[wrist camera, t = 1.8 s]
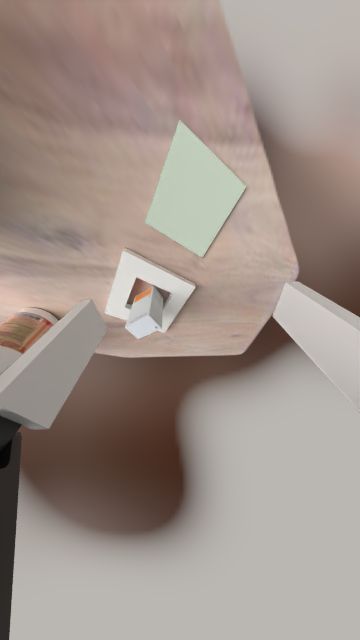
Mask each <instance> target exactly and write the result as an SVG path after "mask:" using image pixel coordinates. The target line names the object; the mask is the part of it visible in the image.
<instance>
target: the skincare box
mask: <svg viewBox="0 0 360 640" xmlns="http://www.w3.org/2000/svg"><path fill="white" fill-rule="evenodd" d="M162 314H163V297H162V295H161V294H160V293H159V291H158V290H157V289H156V287H155V286H152V287H150V288H149V289H147V290H145V291H144V292H142V293H140V294H138V295H136V296H135V299H134V302H133V305H132V308H131V311H130V314H129V317H128V320H127V323H126V326H125V328H126V329H127V330H128V331H129V332H130V333H132V334H133V335H134V336H135V337H136V338H137V339H140V338H142V337H145V336H147V335H150V334H152V333H153V332H155V331H157V330H159V329H162Z"/></svg>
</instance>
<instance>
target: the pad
mask: <svg viewBox="0 0 360 640" xmlns="http://www.w3.org/2000/svg"><path fill="white" fill-rule="evenodd" d="M246 187H247V186H246V185H245V184H244V183H243V182H242V181H241V180H240V179H239V178H238V177H237V176H236V175H235V174H234V173H233V172H232V171H231V170H230V169H229V168H228V167H227V166H226V165H225V164H224V163H223V162H222V161H221V160H220V159H219V158H218V157H217V156H216V155H215V154H214V153H213V152H212V151H211V150H210V149H209V148H208V147H207V146H206V145H205V144H204V143H203V142H202V141H201V140H200V139H199V138H198V137H197V136H196V135H195V134H194V133H193V132H192V131H191V130H190V129H189V128H188V127H187V126H186V125H185V124H184V123H183V122H182V121H181V120H179V123H178V126H177V129H176V132H175V135H174V138H173V141H172V144H171V147H170V150H169V153H168V156H167V159H166V162H165V165H164V168H163V170H162V173H161V176H160V179H159V182H158V185H157V188H156V191H155V194H154V197H153V200H152V203H151V206H150V209H149V212H148V215H147V218H146V220H145V223H146V224H148V225H150V226H151V227H153V228H154V229H156V230H158V231H159V232H161V233H163V234H164V235H166V236H167V237H169V238H171V239H172V240H174V241H176V242H177V243H179V244H180V245H182V246H184V247H185V248H187V249H189V250H190V251H192V252H193V253H195V254H197V255H198V256H200V257H203V256H204V254H205V252H206V251H207V249H208V248H209V246H210V244H211V243H212V241H213V240H214V238H215V236H216V235H217V233H218V232H219V230H220V228H221V227H222V225H223V224H224V222H225V220H226V219H227V217H228V216H229V214H230V212H231V211H232V209H233V207H234V206H235V204H236V203H237V201H238V199H239V198H240V196H241V195H242V193H243V191H244V190H245V188H246Z"/></svg>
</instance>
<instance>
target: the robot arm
mask: <svg viewBox="0 0 360 640" xmlns="http://www.w3.org/2000/svg"><path fill="white" fill-rule="evenodd" d="M273 317H274V319H276V321H277V322H278V323H279V324H280V325H281V326H282V327H283V328H284V329H285V331H286V332H287V333H288V334H289V335H290V336H291V337H292V338H293V339H294V341H295V342H296V343H297V344H298V345H299V346H300V347H301V348H302V349H303V350H304V351H305V353H306V354H307V355H308V356H309V357H310V358H311V359H312V360H313V362H314V363H315V364H316V365H317V366H318V367H319V368H320V369H321V370H322V371H323V373H324V374H325V375H326V376H327V377H328V378H329V379H330V380H331V381H332V382H333V383H334V385H335V386H336V387H337V388H338V389H339V390H340V391H341V392H342V393H343V395H344V396H345V397H346V398H347V399H348V400H349V401H350V402H351V403H352V404H353V406H354V407H355V408H356V409H357V410H358V411H359V412H360V317H358V316H356V315H354V314H353V313H351V312H349V311H347V310H346V309H344V308H343V307H341V306H339V305H337V304H336V303H334V302H332V301H330V300H329V299H327V298H325V297H324V296H322V295H320V294H318V293H317V292H315V291H313V290H312V289H309V288H308V287H306V286H305V285H303V284H301V283H300V282H286V283H285V286H284V288H283V291H282V293H281V296H280V298H279V301H278V303H277V306H276V309H275V311H274V314H273ZM107 330H108V328H107V327H106V325H105V323H104V321H103V319H102V317H101V316H100V314H99V312H98V310H97V308H96V306H95V304H94V303H93V301H92V300H81V301H80V302H79V303H78V304H77V305H76V306H75V307H74V308H72V309H71V310H70V311H69V312H68V313H67V314H66V315H65V316H64V317H63V318H62V319H61V320H59V321H58V322H57V323H56V324H55V325H54V326H53V327H52V328H51V329H50V330H49V331H48V332H46V333H45V334H44V335H43V336H42V337H41V338H40V339H39V340H38V341H37V342H36V343H35V344H33V345H32V346H31V347H30V348H29V349H28V350H27V351H26V352H24V353H23V354H22V355H21V356H20V357H19V358H18V359H17V360H15V361H14V363H13V364H11V365H10V366H9V367H8V368H7V369H6V370H5V371H4V372H2V373H1V374H0V640H9V632H10V616H11V599H12V584H13V567H14V551H15V535H16V519H17V503H18V488H19V486H18V485H19V472H20V456H21V455H20V454H21V440H22V437H21V433H20V432H18V429H19V428H20V426H21V425H23V426H25V427H28V428H30V429H49V427H50V426H51V424H52V422H53V421H54V419H55V417H56V416H57V414H58V412H59V410H60V409H61V407H62V405H63V404H64V402H65V400H66V399H67V397H68V395H69V394H70V392H71V390H72V388H73V387H74V385H75V383H76V382H77V380H78V378H79V377H80V375H81V373H82V372H83V370H84V368H85V367H86V365H87V363H88V362H89V360H90V358H91V357H92V355H93V353H94V352H95V350H96V348H97V346H98V345H99V343H100V341H101V340H102V338H103V336H104V335H105V333H106V331H107Z"/></svg>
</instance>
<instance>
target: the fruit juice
mask: <svg viewBox="0 0 360 640" xmlns="http://www.w3.org/2000/svg"><path fill="white" fill-rule="evenodd" d="M57 322H58V319H57V318H56V317H55V316H53V315H52V314H50V313H49V312H47V311H44V310H42V309H38V308H24V309H21V310H19V311H18V312H16V313H15V314H14V315H12V316H11V317H10V318H8V319H7V320H6V321H4V322H3V323H2V324H0V374H1V373H2V372H4V371H5V370H6V369H7V368H8V367H9V366H10V365H11V364H13V363H14V361H15V360H17V359H18V358H19V357H20V356H21V355H22V354H23V353H24V352H26V351H27V350H28V349H29V348H30V347H31V346H32V345H33V344H35V343H36V342H37V341H38V340H39V339H40V338H41V337H42V336H43V335H44V334H45V333H46V332H48V331H49V330H50V329H51V328H52V327H53V326H54V325H55V324H56V323H57Z"/></svg>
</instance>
